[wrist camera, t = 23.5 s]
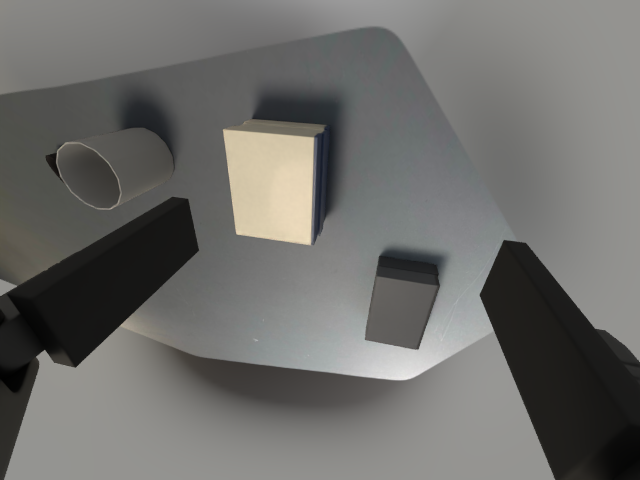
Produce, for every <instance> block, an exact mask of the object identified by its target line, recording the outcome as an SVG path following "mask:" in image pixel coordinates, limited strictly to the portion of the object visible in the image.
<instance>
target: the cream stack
mask: <svg viewBox="0 0 640 480" xmlns="http://www.w3.org/2000/svg"><path fill="white" fill-rule="evenodd" d="M240 126H244V127H255V128H267V129H279V130H291V131H302V132H314V133H322V144H321V166H320V189H319V211H318V234H317V236H320V234H321V232H322V229H323V222H324V220H325V208H326V191H327V174H328V157H329V139H330V125H320V124H308V123H295V122H283V121H271V120H258V119H250V120H248V121H245V122H244V124H242V125H240Z"/></svg>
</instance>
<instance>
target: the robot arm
mask: <svg viewBox="0 0 640 480" xmlns="http://www.w3.org/2000/svg"><path fill="white" fill-rule="evenodd" d="M198 251H199V248H198V244H197V239H196V234H195V229H194V225H193V220H192V215H191V210H190V206H189V201H188V199H185V198H177V197H172V198H170V199H168V200H167V201H165V202H163V203H161V204H160V205H158V206H156V207H155V208H153V209H151V210H149V211H148V212H146V213H144V214H143V215H141V216H139V217H137V218H136V219H134V220H132V221H131V222H129V223H127V224H125V225H124V226H122V227H120V228H119V229H117V230H115V231H113V232H112V233H110V234H108V235H107V236H105V237H103V238H101V239H100V240H98V241H96V242H95V243H93V244H91V245H89V246H88V247H86V248H84V249H83V250H81V251H79V252H76V253H74V254H72V255H71V256H69V257H67V258H66V259H64V260H62V261H60V263H57V264H55V265H53V266H52V267H50V268H48V270H47V271H43V272H41V273H40V274H38V275H36V276H35V277H33V278H31V279H29V280H28V281H26V282H24V283H22V284H21V285H19V286H17V287H16V288H14V289H12V290H10V291H9V292H7V293H5V294H3V295H2V296H0V480H4V477H5V474H6V471H7V468H8V465H9V461H10V458H11V455H12V452H13V449H14V446H15V442H16V439H17V436H18V433H19V430H20V426H21V423H22V420H23V417H24V414H25V411H26V407H27V404H28V401H29V398H30V395H31V391H32V388H33V385H34V382H35V379H36V375H37V372H38V369H39V361H38V359H37V358H36V356H37V355H39V354H40V353H41V352H42V351H44V350H46V352H47V353H48V354H49V356H50V357H51V359H52V360H53V361H54V363H58V364H63V365H67V366H71V367H77V366H78V365H79V364H80V363H81V362H82V361H83V360H84V359H85V358H86V357H87V356H88V355H89V354H90V353H91V352H92V351H93V350H95V348H97V347H98V346H99V345H100V344H101V343H102V342H103V341H104V340H105V339H106V338H107V337H108V336H109V335H110V334H111V333H112V332H114V331H115V330H116V329H117V328H118V327H119V326H120V325H121V324H122V323H123V322H124V321H125V320H126V319H127V318H128V317H129V316H130V315H131V314H133V313H134V312H135V311H136V310H137V309H138V308H139V307H140V306H141V305H142V304H143V303H144V302H145V301H146V300H147V299H148V298H149V297H150V296H152V295H153V294H154V293H155V292H156V291H157V290H158V289H159V288H160V287H161V286H162V285H163V284H164V283H165V282H166V281H167V280H168V279H169V278H170V277H172V276H173V275H174V274H175V273H176V272H177V271H178V270H179V269H180V268H181V267H182V266H183V265H184V264H185V263H186V262H187V261H188V260H189V259H191V258H192V257H193V256H194V255H195V254H196V253H197V252H198ZM480 297H481V300H482V302H483V305H484V307H485V310H486V312H487V314H488V317H489V319H490V322H491V324H492V327H493V329H494V331H495V334H496V336H497V339H498V341H499V343H500V346H501V349H502V351H503V353H504V356H505V358H506V361H507V363H508V366H509V368H510V370H511V373H512V375H513V378H514V380H515V382H516V385H517V388H518V390H519V392H520V395H521V397H522V400H523V402H524V405H525V407H526V409H527V412H528V414H529V417H530V419H531V422H532V424H533V426H534V429H535V431H536V434H537V436H538V439H539V441H540V444H541V446H542V448H543V451H544V453H545V456H546V458H547V460H548V463H549V466H550V468H551V470H552V473H553V475H554V478H555V480H640V362H639V361H638V360H637V359H636V357H635V356H634V355H633V354H632V353H631V352H630V350H628V348H627V347H626V346H625V345H623V344H622V343H621V342H619V341H618V340H617V339H616V338H614V337H613V336H612V335H610V334H609V333H608V332H606V331H605V330H599V329H595V328H594V327H593V326H592V324H591V323H590V322H589V321H588V319H587V318H586V317H585V316H584V314H583V313H582V312H581V311H580V309H579V308H578V307H577V306H576V304H575V303H574V302H573V301H572V300H571V298H570V297H569V296H568V295H567V293H566V292H565V291H564V290H563V288H562V287H561V286H560V285H559V283H558V282H557V281H556V280H555V278H554V277H553V276H552V275H551V273H550V272H549V271H548V270H547V269H546V267H545V266H544V265H543V264H542V263H541V261H540V260H539V259H538V257H536V255H535V254H534V252H533V251H532V250H531V249H530V247H529V246H528V245H527V244H526V243H522V242H515V241H507V240H504V241H503V243H502V246H501V248H500V250H499V252H498V255H497V257H496V259H495V261H494V264H493V266H492V268H491V271H490V273H489V275H488V277H487V280H486V282H485V284H484V286H483V289H482V291H481V293H480Z"/></svg>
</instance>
